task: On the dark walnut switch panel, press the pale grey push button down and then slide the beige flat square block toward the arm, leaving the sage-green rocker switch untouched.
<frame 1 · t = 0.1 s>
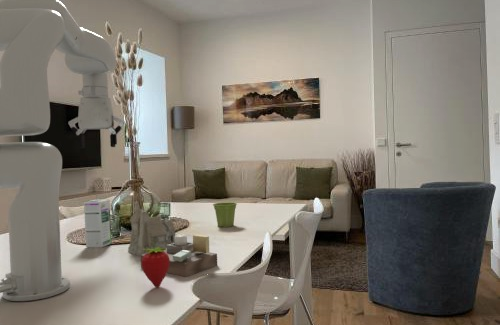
hand: (97, 147, 131), 31 cm above the table, tool pointing down, fingers open, 9 cm apart
syrup box: (99, 246, 130), on the table
beige flat square block: (201, 243, 103), point 6 cm above the table, slide at 0.0 cm
plant pot: (225, 226, 158), on the table
strawberry: (156, 288, 87), on the table
switch panel: (179, 266, 103), on the table
sage rocker: (182, 255, 97), point 4 cm above the table, hinge at -10.0°
grey irregular lump: (155, 250, 123), on the table
grey push button: (180, 241, 106), point 6 cm above the table, slide at 0.0 cm
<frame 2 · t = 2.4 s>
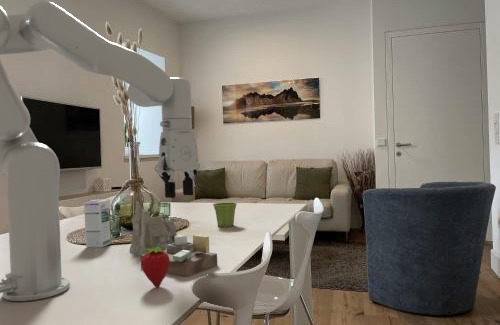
hand: (179, 195, 106), 18 cm above the table, tool pointing down, fingers open, 5 cm apart
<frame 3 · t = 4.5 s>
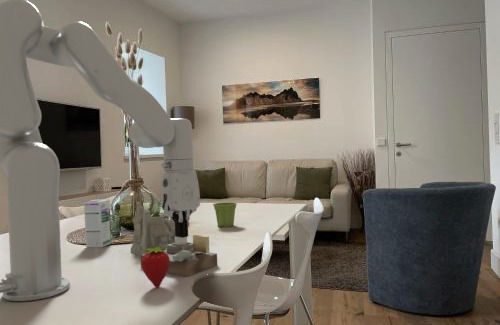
hand: (181, 236, 107), 7 cm above the table, tool pointing down, fingers closed
grey push button: (180, 241, 106), point 5 cm above the table, slide at 0.2 cm, touching gripper
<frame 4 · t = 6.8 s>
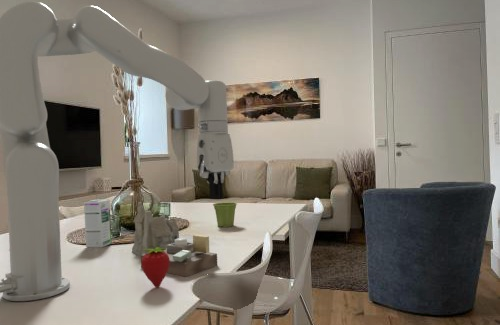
hand: (216, 198, 108), 16 cm above the table, tool pointing down, fingers closed
grey push button: (181, 244, 106), point 5 cm above the table, slide at 0.8 cm
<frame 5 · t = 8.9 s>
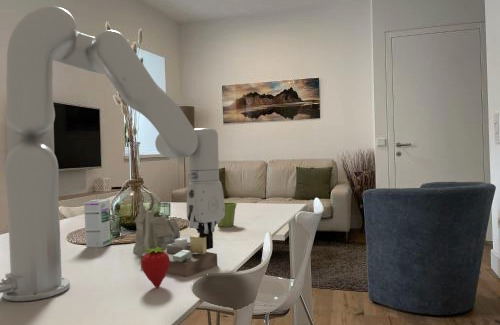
hand: (206, 248, 105), 4 cm above the table, tool pointing down, fingers closed
beige flat square block: (198, 244, 102), point 6 cm above the table, slide at 1.1 cm, touching gripper
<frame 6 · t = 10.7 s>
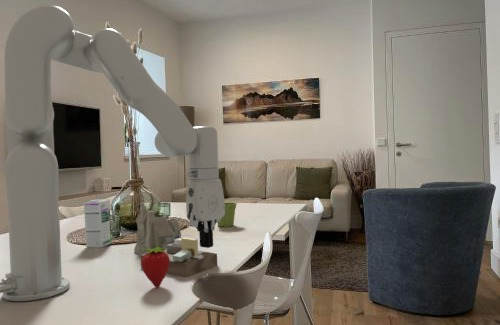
hand: (206, 246, 105), 4 cm above the table, tool pointing down, fingers closed
beige flat square block: (189, 247, 100), point 6 cm above the table, slide at 4.1 cm
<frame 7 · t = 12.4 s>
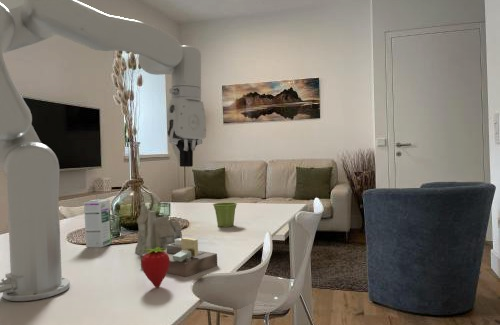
hand: (186, 166, 106), 25 cm above the table, tool pointing down, fingers closed
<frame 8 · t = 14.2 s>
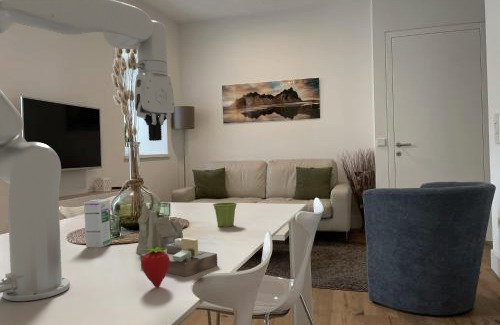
hand: (155, 140, 108), 32 cm above the table, tool pointing down, fingers closed
at the end: grey push button slide at 0.8 cm; beige flat square block slide at 4.1 cm; sage rocker at -10° (first picture: -10°) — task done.
